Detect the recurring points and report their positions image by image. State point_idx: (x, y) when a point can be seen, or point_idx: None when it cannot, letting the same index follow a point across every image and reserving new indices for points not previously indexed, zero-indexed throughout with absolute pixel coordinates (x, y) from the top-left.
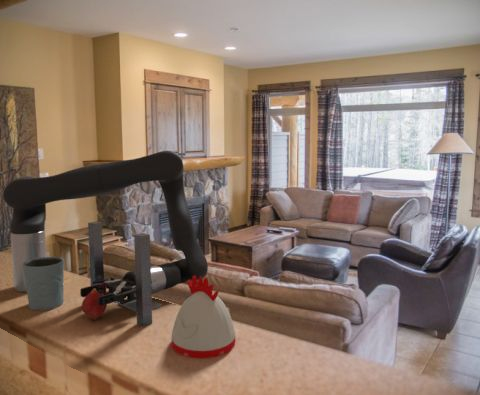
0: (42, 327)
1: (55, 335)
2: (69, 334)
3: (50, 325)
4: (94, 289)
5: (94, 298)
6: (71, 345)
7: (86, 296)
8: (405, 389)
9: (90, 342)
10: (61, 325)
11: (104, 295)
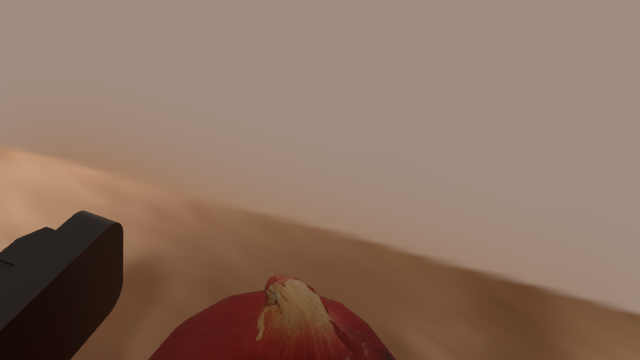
0: (489, 301)
1: (318, 245)
2: (247, 269)
3: (478, 334)
4: (277, 277)
5: (218, 306)
6: (138, 186)
7: (351, 312)
8: None
9: (38, 221)
10: (414, 353)
11: (47, 261)
